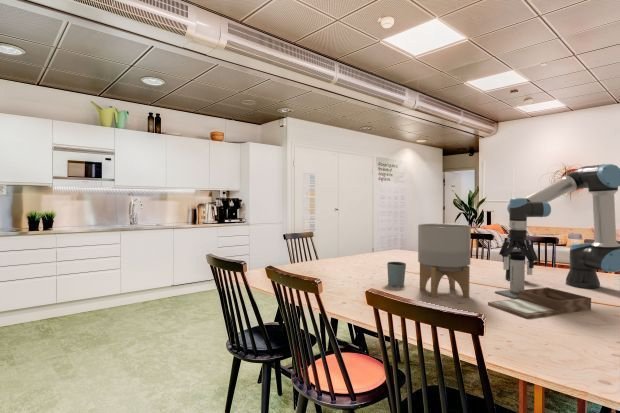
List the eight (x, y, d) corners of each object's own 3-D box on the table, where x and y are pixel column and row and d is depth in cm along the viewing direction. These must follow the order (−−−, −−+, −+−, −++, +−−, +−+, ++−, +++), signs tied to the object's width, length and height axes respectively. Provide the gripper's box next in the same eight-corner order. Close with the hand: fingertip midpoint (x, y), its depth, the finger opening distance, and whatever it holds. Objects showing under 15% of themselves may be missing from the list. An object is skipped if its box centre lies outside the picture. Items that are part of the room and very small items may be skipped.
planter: (409, 293, 185) (409, 225, 184) (430, 284, 204) (431, 222, 203) (458, 302, 168) (459, 228, 168) (477, 292, 187) (478, 225, 186)
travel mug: (522, 291, 184) (523, 252, 184) (525, 295, 178) (526, 254, 177) (508, 290, 186) (509, 251, 186) (511, 294, 180) (511, 253, 179)
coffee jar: (525, 280, 214) (525, 248, 213) (522, 282, 208) (523, 249, 207) (507, 277, 220) (507, 246, 220) (503, 280, 214) (504, 248, 214)
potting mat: (519, 290, 190) (519, 288, 190) (540, 296, 179) (540, 294, 179) (494, 293, 185) (494, 291, 185) (515, 299, 174) (515, 297, 174)
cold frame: (547, 297, 176) (547, 287, 176) (591, 309, 157) (591, 298, 157) (487, 304, 165) (487, 293, 165) (527, 318, 146) (527, 306, 146)
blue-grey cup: (385, 282, 209) (385, 261, 209) (403, 282, 208) (403, 261, 208) (389, 286, 199) (389, 264, 198) (407, 286, 198) (407, 264, 198)
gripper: (491, 227, 192) (491, 267, 192) (534, 231, 168) (534, 277, 169) (503, 227, 194) (502, 267, 195) (547, 231, 171) (546, 276, 171)
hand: (517, 272), depth 182 cm, fingers open, 13 cm apart
